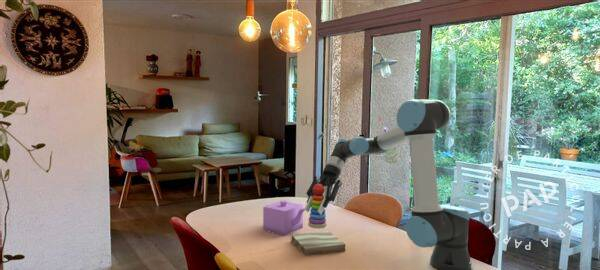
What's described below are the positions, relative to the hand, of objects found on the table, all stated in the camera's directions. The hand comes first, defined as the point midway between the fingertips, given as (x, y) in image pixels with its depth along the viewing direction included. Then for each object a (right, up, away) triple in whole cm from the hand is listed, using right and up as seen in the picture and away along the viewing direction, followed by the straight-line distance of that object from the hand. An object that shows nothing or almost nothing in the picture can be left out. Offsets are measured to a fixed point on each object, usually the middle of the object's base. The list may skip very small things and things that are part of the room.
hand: (312, 211), depth 182 cm
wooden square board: (+2, -16, +4) cm, 16 cm away
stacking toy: (+2, -7, +4) cm, 8 cm away
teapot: (-13, -14, +27) cm, 32 cm away
